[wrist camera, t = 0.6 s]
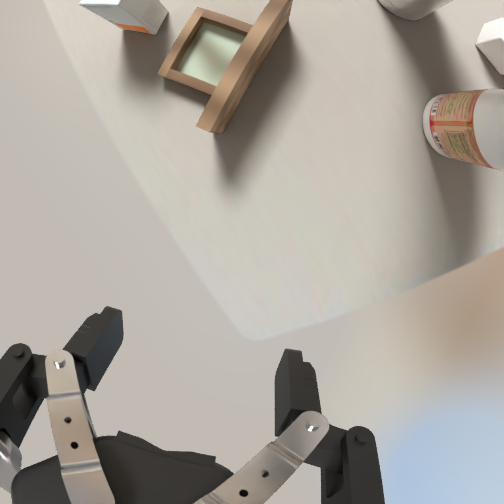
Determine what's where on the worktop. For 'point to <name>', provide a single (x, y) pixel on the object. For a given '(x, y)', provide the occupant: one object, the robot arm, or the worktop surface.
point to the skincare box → (130, 13)
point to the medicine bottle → (493, 43)
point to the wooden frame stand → (223, 57)
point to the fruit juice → (467, 126)
